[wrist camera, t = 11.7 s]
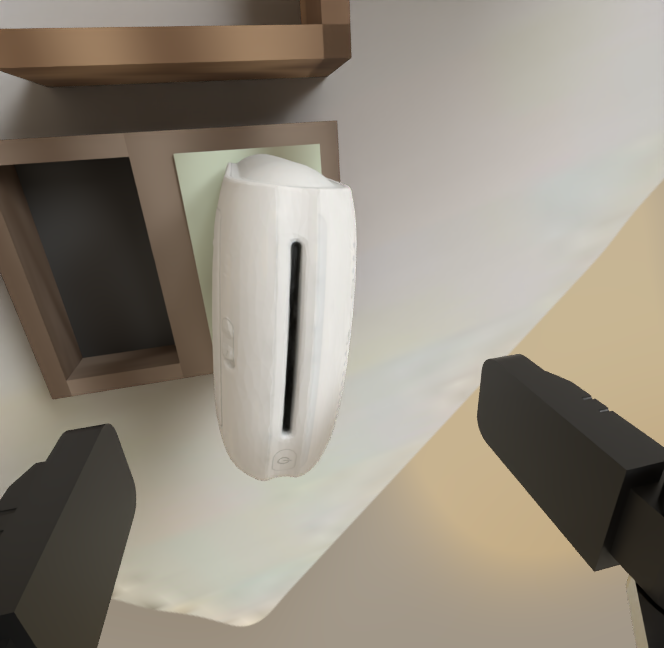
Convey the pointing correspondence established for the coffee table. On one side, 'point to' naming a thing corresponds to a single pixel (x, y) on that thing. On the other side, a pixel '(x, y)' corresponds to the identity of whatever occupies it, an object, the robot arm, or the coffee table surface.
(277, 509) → the coffee table surface
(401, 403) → the coffee table surface
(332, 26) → the wooden cubby shelf
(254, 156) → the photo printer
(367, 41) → the coffee table surface
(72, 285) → the two-compartment wooden organizer
